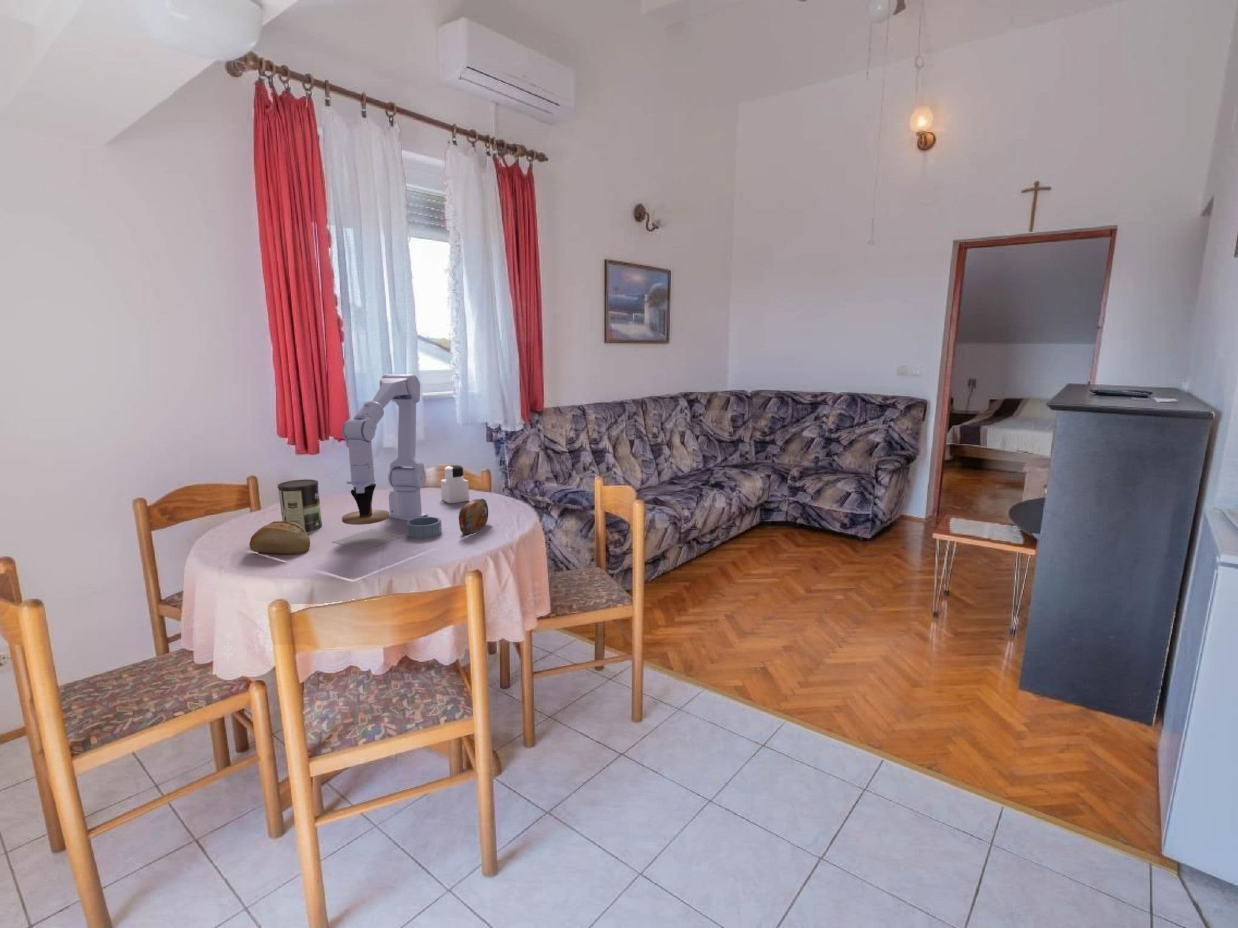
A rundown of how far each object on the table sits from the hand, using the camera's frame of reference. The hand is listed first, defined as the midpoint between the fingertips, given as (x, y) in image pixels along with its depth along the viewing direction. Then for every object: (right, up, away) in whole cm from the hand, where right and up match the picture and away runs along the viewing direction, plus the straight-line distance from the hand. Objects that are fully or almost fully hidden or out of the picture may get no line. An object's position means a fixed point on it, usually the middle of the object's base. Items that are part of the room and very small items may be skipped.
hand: (365, 512), depth 166 cm
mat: (0, -8, +2) cm, 8 cm away
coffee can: (-22, -6, +10) cm, 26 cm away
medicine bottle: (+13, +1, +44) cm, 46 cm away
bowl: (+14, -7, +7) cm, 17 cm away
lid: (0, -2, 0) cm, 2 cm away
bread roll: (-19, -10, -7) cm, 22 cm away
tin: (+27, -6, +12) cm, 30 cm away
